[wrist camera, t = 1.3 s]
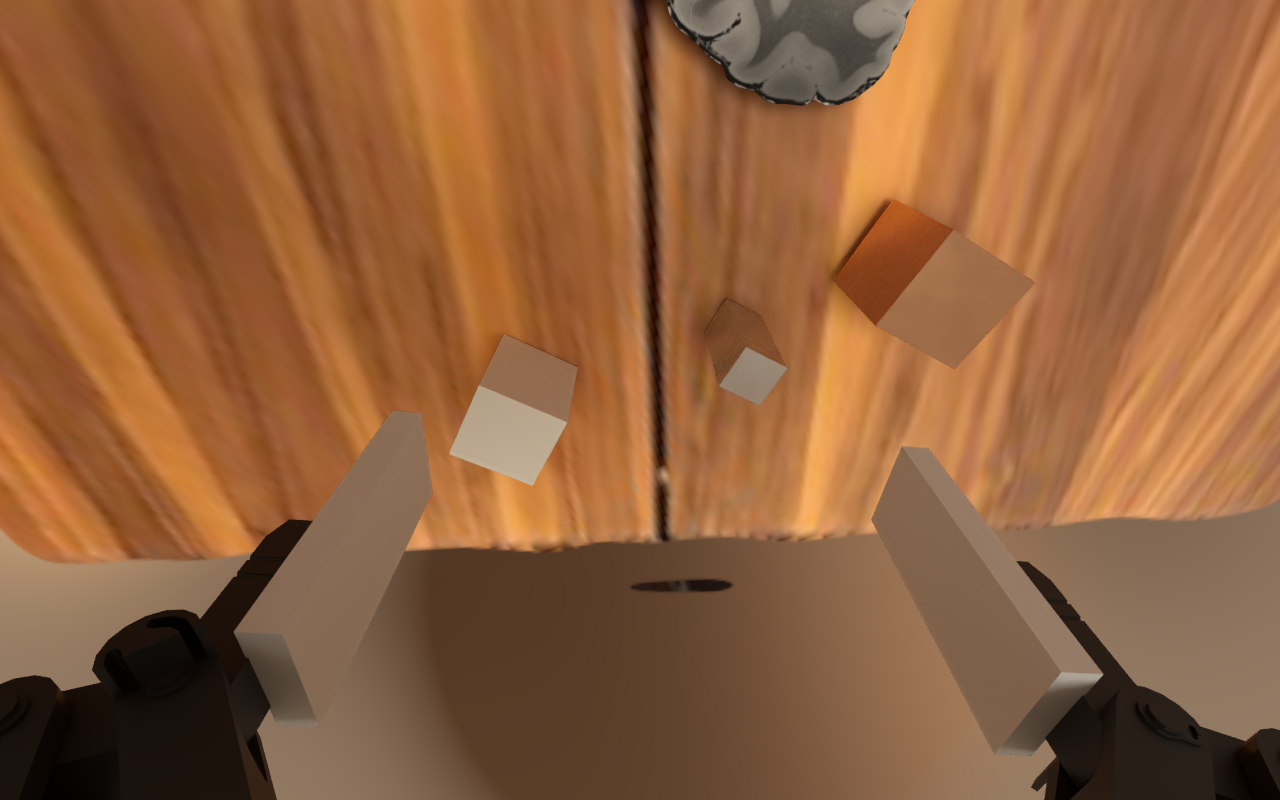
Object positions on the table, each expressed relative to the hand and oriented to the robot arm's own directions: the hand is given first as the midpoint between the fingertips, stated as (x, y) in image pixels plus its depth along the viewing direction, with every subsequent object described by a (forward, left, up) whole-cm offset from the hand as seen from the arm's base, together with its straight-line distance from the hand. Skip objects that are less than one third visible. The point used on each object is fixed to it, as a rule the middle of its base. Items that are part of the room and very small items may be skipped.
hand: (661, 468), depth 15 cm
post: (+7, -1, -20) cm, 21 cm away
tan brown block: (+13, +7, -20) cm, 25 cm away
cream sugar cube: (-3, -11, -20) cm, 23 cm away
